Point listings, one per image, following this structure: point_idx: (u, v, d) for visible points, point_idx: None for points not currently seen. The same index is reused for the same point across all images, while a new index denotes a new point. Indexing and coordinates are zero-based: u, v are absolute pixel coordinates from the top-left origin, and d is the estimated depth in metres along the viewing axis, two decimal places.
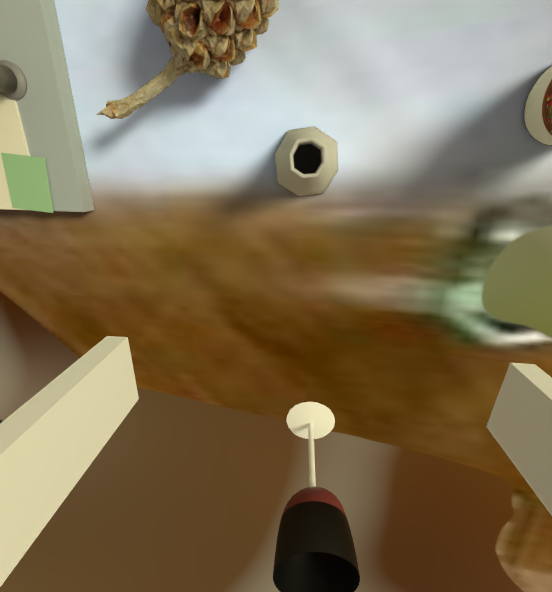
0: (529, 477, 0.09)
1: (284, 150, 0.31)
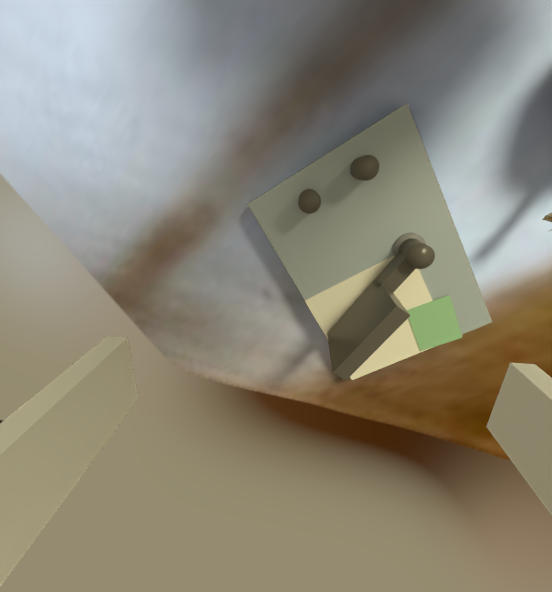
0: (529, 478, 0.09)
1: None
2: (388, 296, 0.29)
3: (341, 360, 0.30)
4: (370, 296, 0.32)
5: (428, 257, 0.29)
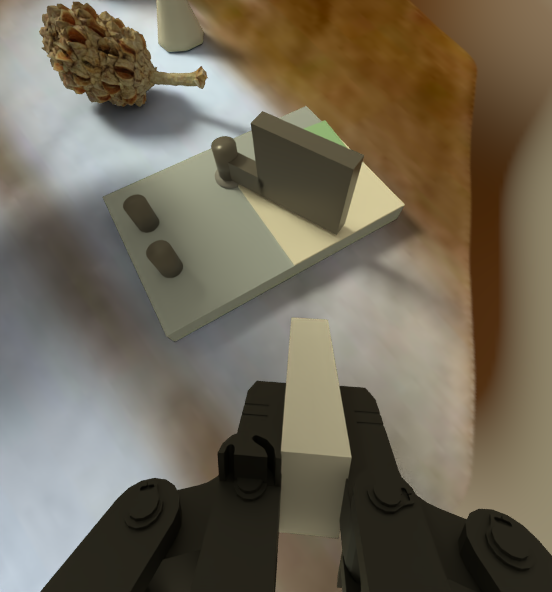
0: None
1: (174, 25, 0.43)
2: (255, 150, 0.26)
3: (334, 166, 0.22)
4: (272, 184, 0.28)
5: (223, 140, 0.29)
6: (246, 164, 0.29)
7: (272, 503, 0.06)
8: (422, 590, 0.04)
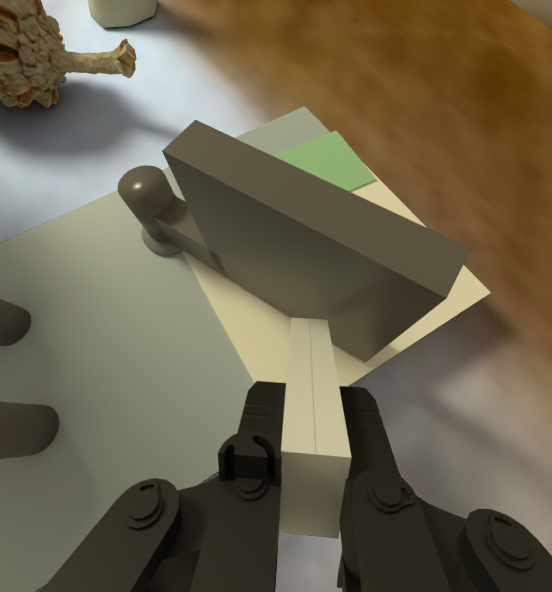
0: None
1: None
2: (189, 206, 0.11)
3: (384, 277, 0.08)
4: (235, 265, 0.14)
5: (143, 174, 0.15)
6: (188, 220, 0.15)
7: (272, 503, 0.06)
8: (423, 589, 0.04)
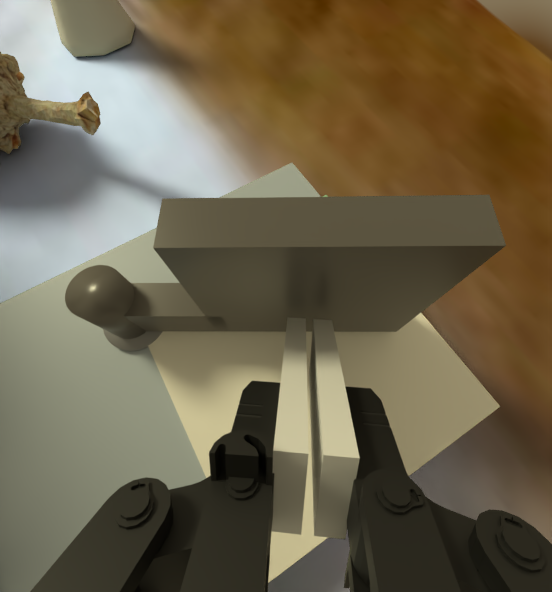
0: (310, 403, 0.11)
1: (77, 13, 0.26)
2: (186, 286, 0.10)
3: (439, 255, 0.08)
4: (244, 316, 0.13)
5: (88, 279, 0.13)
6: (165, 300, 0.13)
7: (264, 502, 0.06)
8: (433, 591, 0.04)
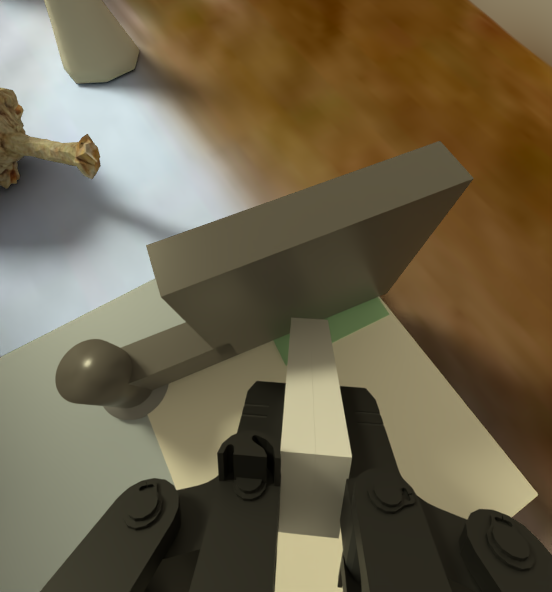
0: None
1: (80, 40, 0.25)
2: (195, 325, 0.10)
3: (422, 206, 0.09)
4: (252, 333, 0.13)
5: (76, 361, 0.11)
6: (165, 349, 0.13)
7: (272, 503, 0.06)
8: (424, 590, 0.04)
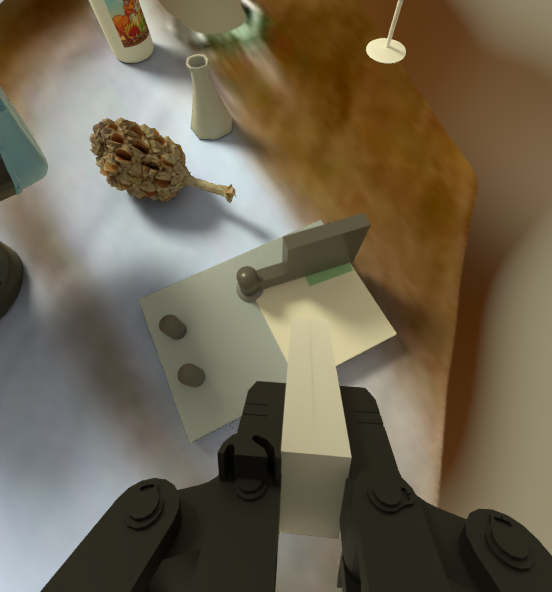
0: None
1: (207, 119, 0.47)
2: (288, 261, 0.32)
3: (356, 231, 0.31)
4: (300, 269, 0.35)
5: (242, 272, 0.34)
6: (269, 273, 0.35)
7: (272, 503, 0.06)
8: (423, 589, 0.04)
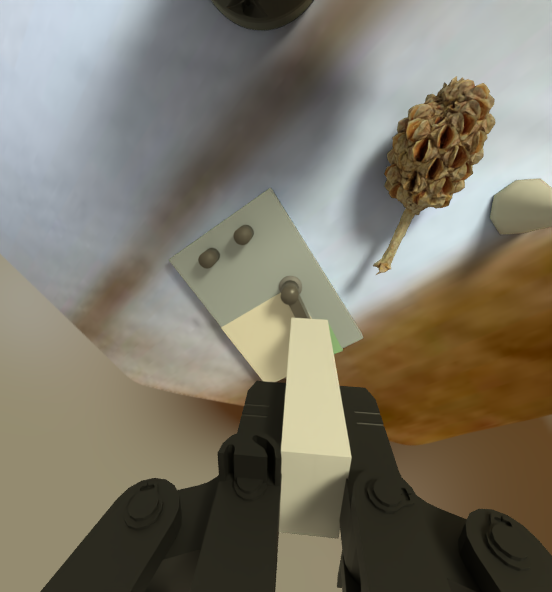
0: None
1: (512, 212, 0.37)
2: None
3: None
4: None
5: (291, 293, 0.40)
6: (297, 310, 0.42)
7: (272, 503, 0.06)
8: (422, 589, 0.04)
